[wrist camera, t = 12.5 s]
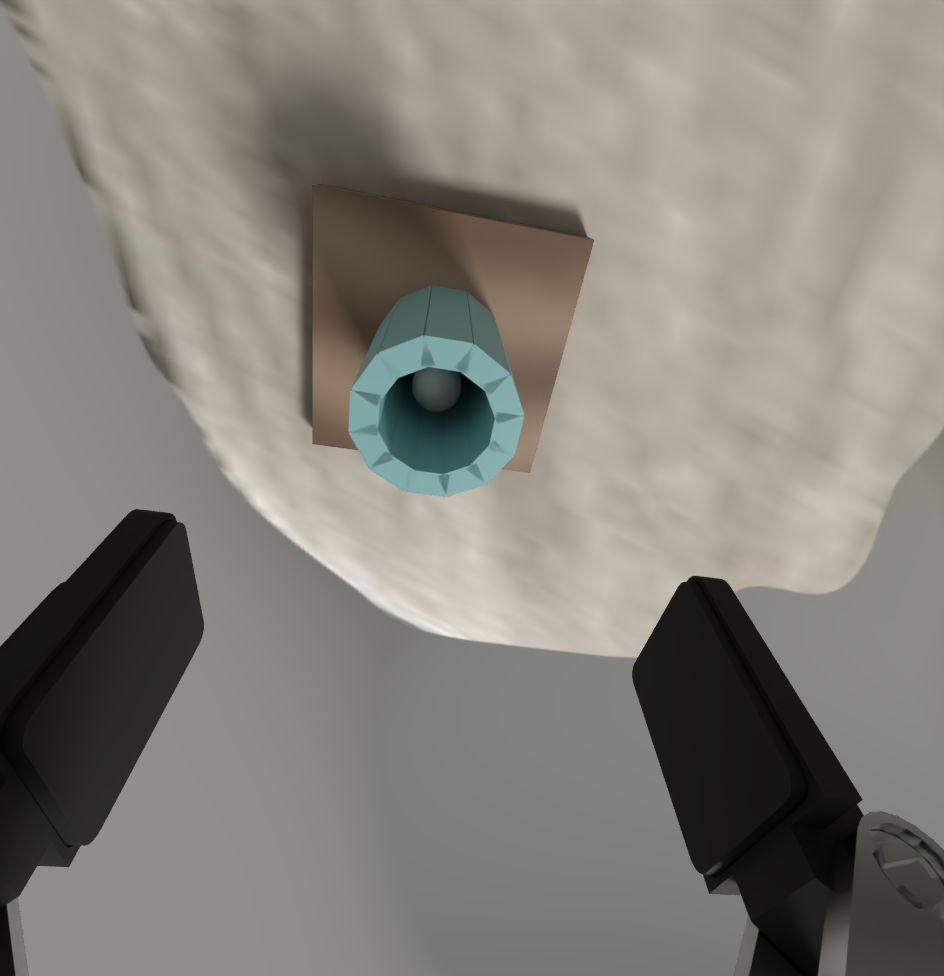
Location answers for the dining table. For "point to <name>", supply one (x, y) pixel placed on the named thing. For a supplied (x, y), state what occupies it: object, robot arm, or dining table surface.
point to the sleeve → (436, 434)
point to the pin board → (447, 263)
